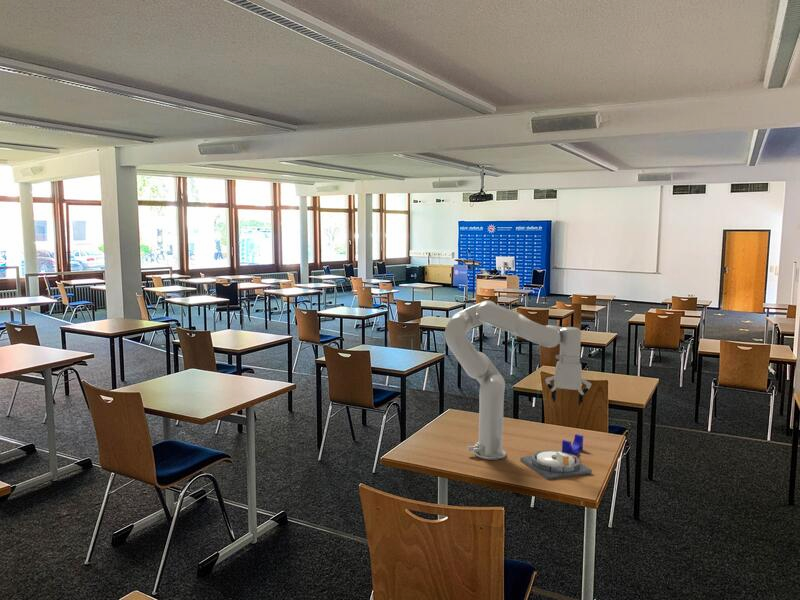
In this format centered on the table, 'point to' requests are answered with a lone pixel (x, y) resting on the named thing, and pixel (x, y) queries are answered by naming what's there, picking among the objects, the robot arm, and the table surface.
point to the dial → (555, 458)
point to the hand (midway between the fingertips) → (566, 402)
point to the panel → (556, 474)
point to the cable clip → (573, 445)
